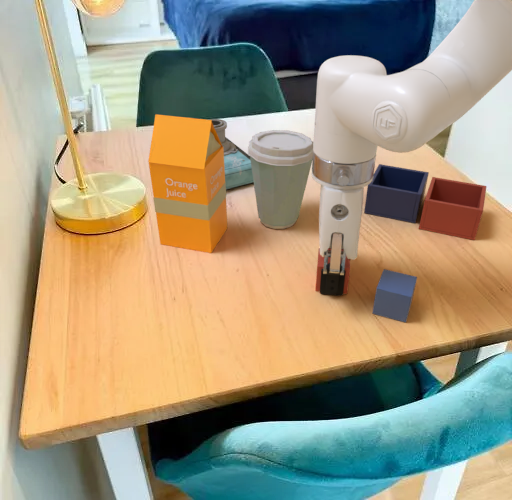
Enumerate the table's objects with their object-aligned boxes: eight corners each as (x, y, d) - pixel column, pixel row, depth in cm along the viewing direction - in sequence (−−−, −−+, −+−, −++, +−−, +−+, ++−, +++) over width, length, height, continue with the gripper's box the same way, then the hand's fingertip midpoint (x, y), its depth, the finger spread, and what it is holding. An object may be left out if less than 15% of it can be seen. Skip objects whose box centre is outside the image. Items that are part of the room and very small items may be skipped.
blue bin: (423, 199, 91) (428, 172, 88) (415, 223, 85) (421, 194, 82) (375, 190, 94) (379, 163, 91) (364, 213, 88) (367, 185, 85)
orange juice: (179, 219, 87) (166, 105, 75) (228, 227, 84) (222, 110, 73) (159, 244, 80) (141, 124, 69) (211, 254, 78) (202, 131, 67)
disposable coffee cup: (257, 201, 92) (256, 121, 83) (316, 208, 89) (321, 127, 81) (241, 232, 83) (238, 147, 74) (305, 241, 81) (310, 154, 72)
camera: (259, 136, 92) (208, 147, 88) (259, 183, 97) (212, 196, 93) (220, 109, 103) (174, 117, 100) (222, 152, 109) (179, 162, 105)
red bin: (478, 214, 87) (486, 185, 84) (474, 240, 81) (483, 210, 77) (426, 204, 90) (432, 176, 87) (418, 229, 83) (424, 199, 80)
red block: (347, 274, 74) (350, 250, 71) (347, 294, 70) (350, 268, 68) (317, 272, 74) (318, 247, 72) (315, 291, 71) (317, 266, 68)
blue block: (411, 302, 69) (417, 276, 66) (406, 322, 65) (411, 296, 63) (379, 293, 70) (383, 268, 68) (372, 313, 67) (376, 288, 64)
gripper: (377, 201, 54) (359, 325, 65) (372, 139, 68) (357, 250, 78) (307, 196, 55) (300, 319, 66) (315, 136, 69) (309, 246, 79)
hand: (331, 280), depth 72 cm, fingers closed on red block, 4 cm apart
